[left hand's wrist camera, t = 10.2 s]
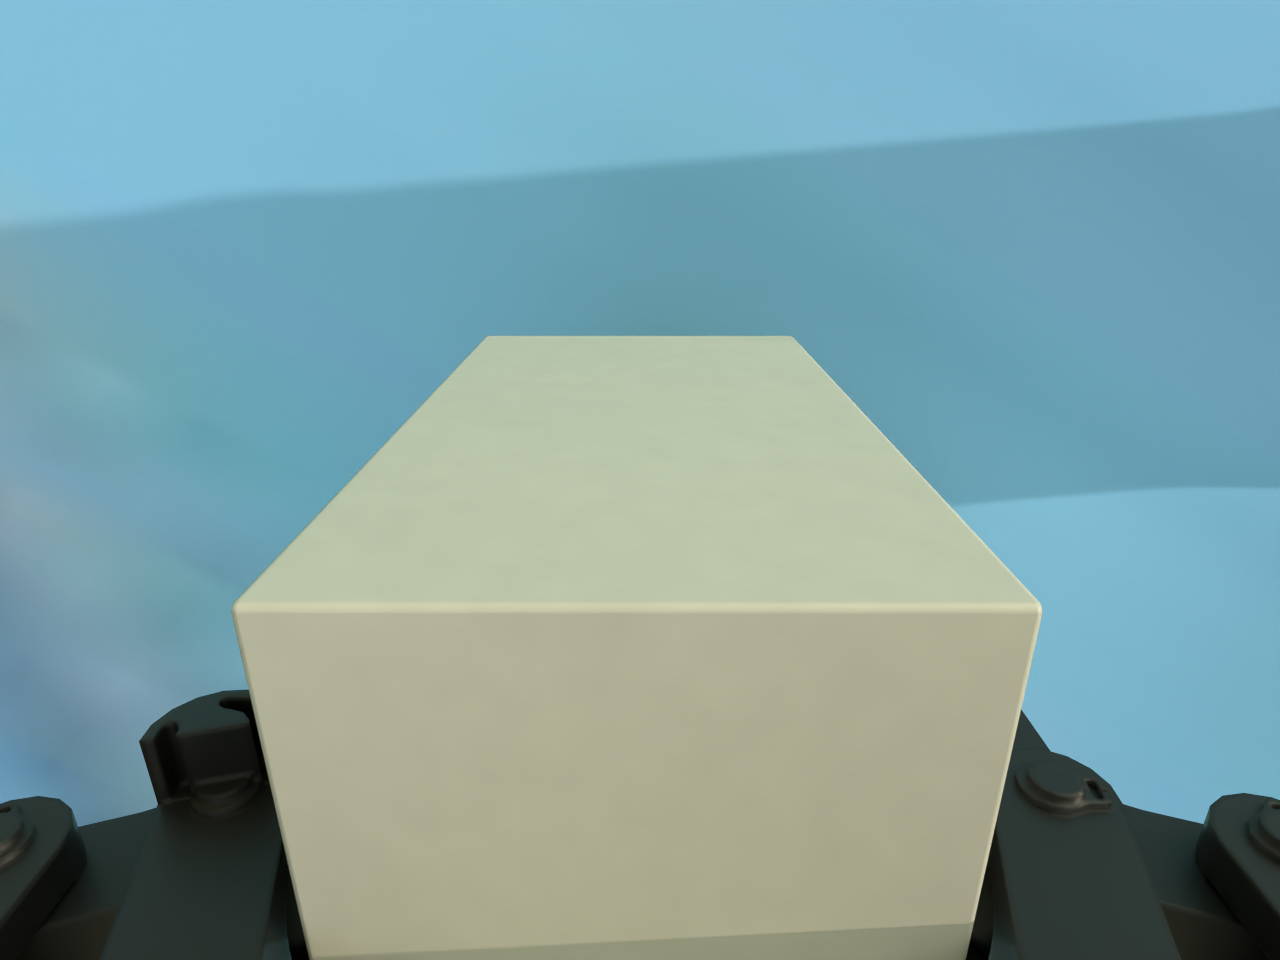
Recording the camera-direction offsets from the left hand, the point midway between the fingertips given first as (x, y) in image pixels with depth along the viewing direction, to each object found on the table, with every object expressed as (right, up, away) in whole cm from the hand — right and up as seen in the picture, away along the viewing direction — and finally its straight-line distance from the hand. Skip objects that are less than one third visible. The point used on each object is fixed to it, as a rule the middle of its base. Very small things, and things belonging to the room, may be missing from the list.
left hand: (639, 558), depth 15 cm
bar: (0, -6, +3) cm, 7 cm away
